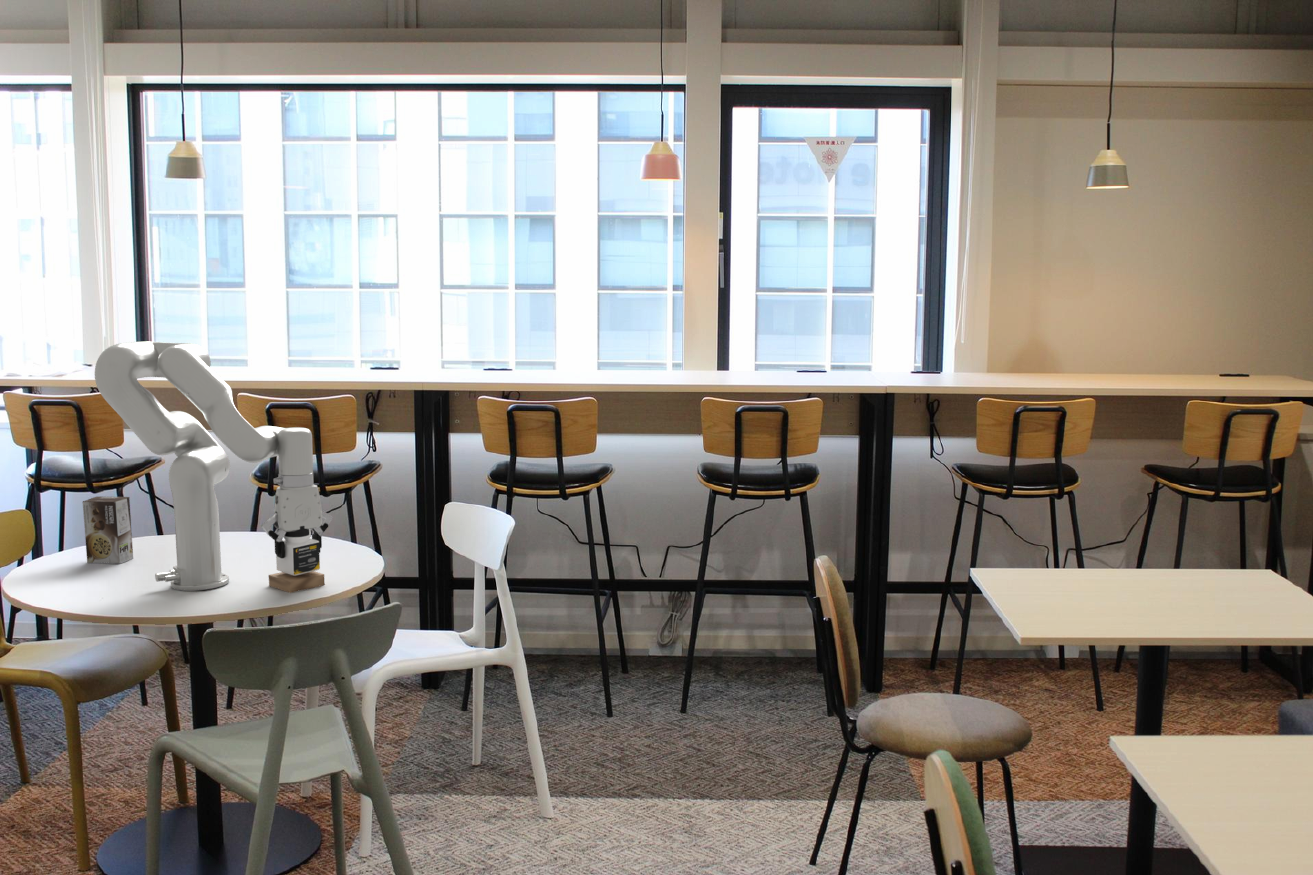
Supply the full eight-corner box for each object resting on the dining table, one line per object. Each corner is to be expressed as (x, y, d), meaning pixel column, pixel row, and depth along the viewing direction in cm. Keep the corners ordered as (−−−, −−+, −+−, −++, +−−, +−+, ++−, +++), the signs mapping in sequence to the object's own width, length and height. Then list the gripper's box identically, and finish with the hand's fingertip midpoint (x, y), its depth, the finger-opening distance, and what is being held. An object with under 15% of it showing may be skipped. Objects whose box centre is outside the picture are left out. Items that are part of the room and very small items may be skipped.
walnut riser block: (290, 594, 247) (289, 581, 247) (269, 587, 253) (268, 574, 253) (324, 586, 254) (324, 574, 254) (303, 579, 260) (303, 567, 259)
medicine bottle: (294, 576, 249) (292, 525, 247) (276, 570, 253) (274, 520, 251) (320, 569, 255) (319, 520, 253) (302, 564, 259) (300, 515, 257)
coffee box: (134, 558, 277) (131, 496, 275) (119, 564, 271) (116, 501, 269) (101, 557, 278) (97, 495, 276) (85, 563, 272) (81, 500, 270)
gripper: (265, 487, 242) (268, 563, 245) (338, 479, 254) (340, 552, 256) (253, 482, 248) (255, 556, 250) (325, 474, 259) (327, 546, 262)
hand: (298, 554), depth 253 cm, fingers closed on medicine bottle, 8 cm apart
